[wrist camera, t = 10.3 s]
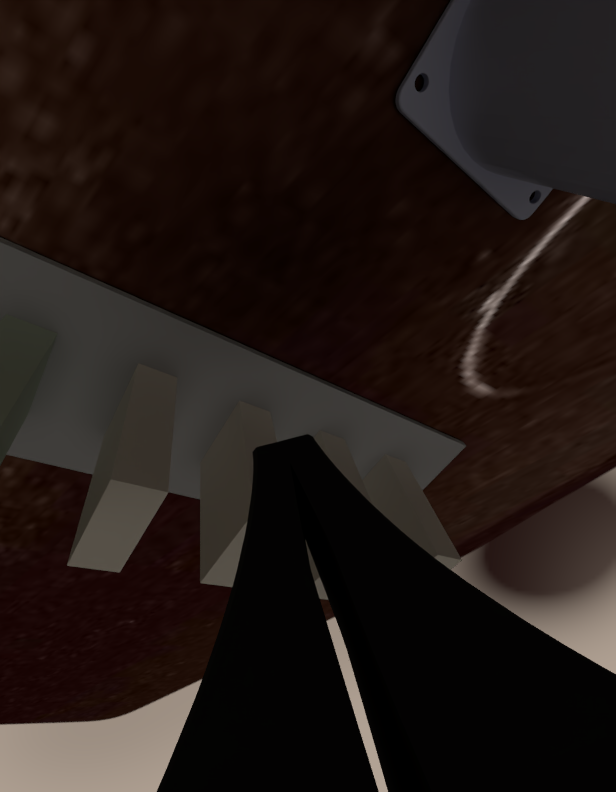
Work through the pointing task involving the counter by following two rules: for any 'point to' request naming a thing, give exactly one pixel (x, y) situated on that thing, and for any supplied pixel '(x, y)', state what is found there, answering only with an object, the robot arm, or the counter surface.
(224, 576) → the domino
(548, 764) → the robot arm
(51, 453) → the mat
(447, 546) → the domino
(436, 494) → the counter surface
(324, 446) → the domino
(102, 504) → the domino
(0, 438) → the domino
